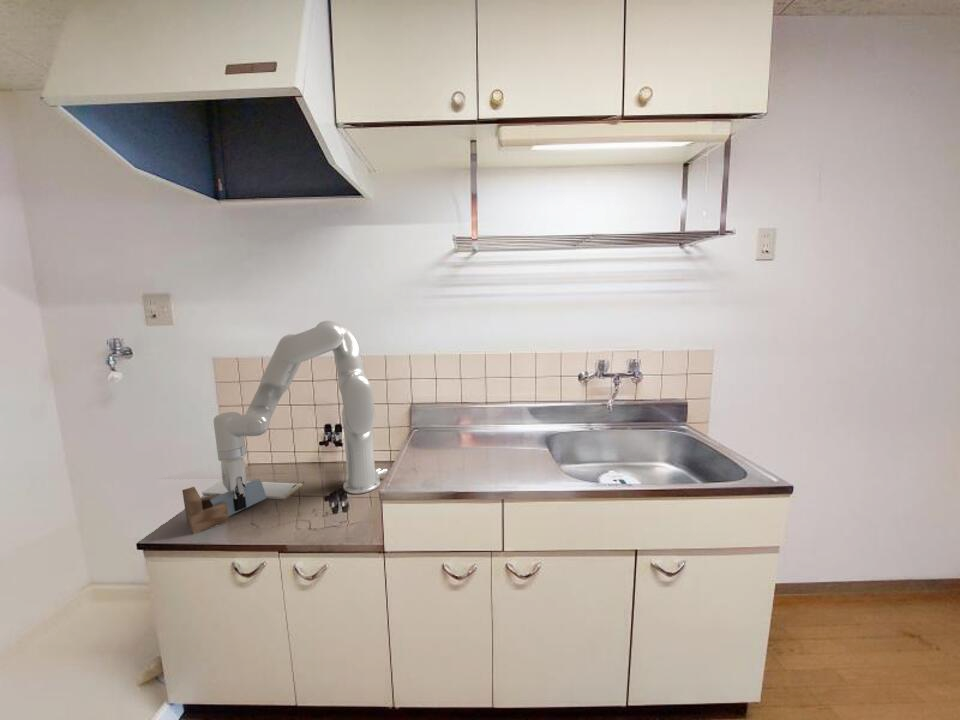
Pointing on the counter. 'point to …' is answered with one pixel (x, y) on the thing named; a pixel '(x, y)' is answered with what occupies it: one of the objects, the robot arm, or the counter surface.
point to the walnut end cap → (203, 511)
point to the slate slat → (252, 496)
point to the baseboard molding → (270, 488)
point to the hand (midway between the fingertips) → (238, 506)
